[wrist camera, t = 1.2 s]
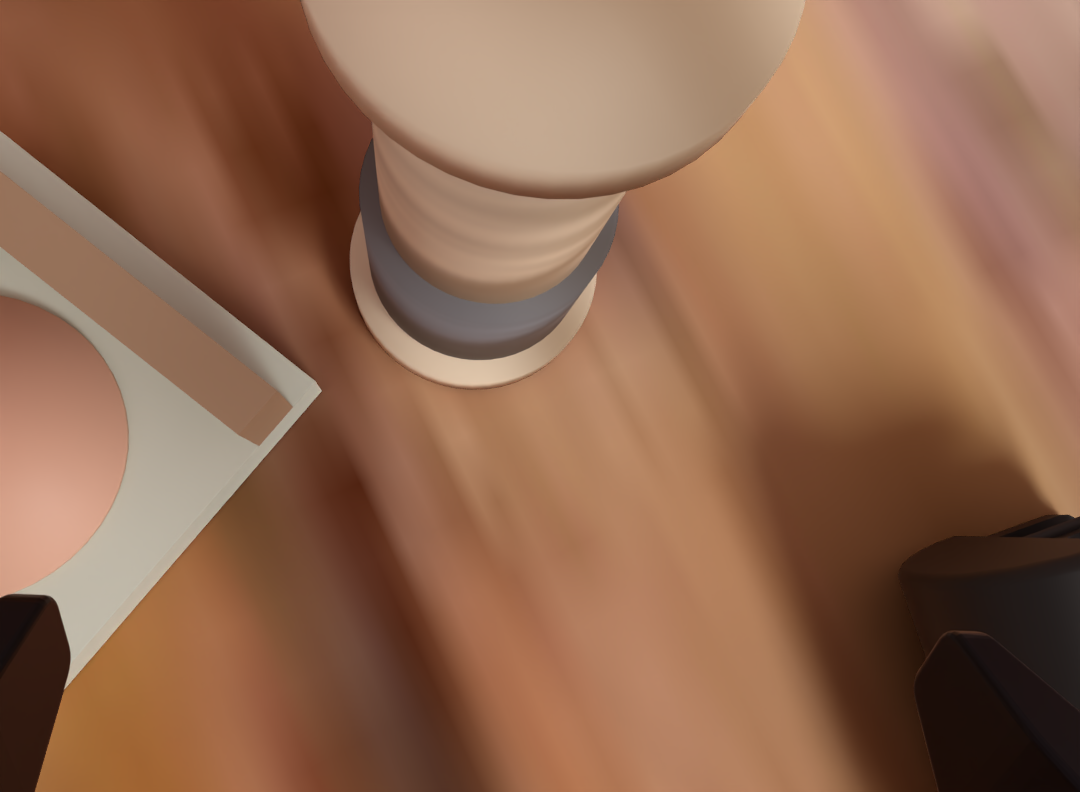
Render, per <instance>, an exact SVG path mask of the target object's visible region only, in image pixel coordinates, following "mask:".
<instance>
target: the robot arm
mask: <svg viewBox="0 0 1080 792" xmlns="http://www.w3.org/2000/svg"><path fill="white" fill-rule="evenodd" d="M70 662H71V652H70V646H69V643H68V639H67V636H66V632H65V629H64V625H63V621H62V618H61V614H60V611H59V607H58V605H57V602H56V601H55V600H54V599H53V598H52V597H51V596H48V595H37V594H8V595H5V596H3V597H1V598H0V792H35V789H36V785H37V782H38V779H39V775H40V772H41V768H42V765H43V761H44V758H45V754H46V751H47V747H48V744H49V740H50V737H51V733H52V730H53V726H54V723H55V720H56V716H57V713H58V709H59V706H60V702H61V699H62V695H63V692H64V688H65V685H66V681H67V678H68V674H69V669H70ZM914 698H915V703H916V707H917V711H918V715H919V719H920V723H921V727H922V731H923V735H924V739H925V743H926V746H927V750H928V754H929V758H930V762H931V766H932V770H933V774H934V778H935V782H936V786H937V790H938V792H1080V711H1079V710H1078V709H1077V708H1076V707H1074V706H1073V705H1072V704H1071V703H1070V702H1068V701H1067V700H1066V699H1065V698H1064V697H1062V696H1061V695H1060V694H1059V693H1058V692H1057V691H1055V690H1054V689H1053V688H1052V687H1051V686H1049V685H1048V684H1047V683H1046V682H1045V681H1044V680H1042V679H1041V678H1040V677H1039V676H1038V675H1036V674H1035V673H1034V672H1033V671H1032V670H1030V669H1029V668H1028V667H1027V666H1026V665H1025V664H1023V663H1022V662H1021V661H1020V660H1019V659H1017V658H1016V657H1015V656H1014V655H1013V654H1011V653H1010V652H1009V651H1008V650H1007V649H1006V648H1004V647H1003V646H1002V645H1001V644H1000V643H998V642H997V641H996V640H995V639H994V638H992V637H991V636H989V635H987V634H985V633H982V632H977V631H955V630H953V631H948V632H946V633H944V634H943V635H942V636H941V637H940V638H939V640H938V641H937V643H936V644H935V646H934V647H933V649H932V651H931V652H930V654H929V655H928V657H927V658H926V660H925V661H924V663H923V664H922V666H921V668H920V669H919V671H918V672H917V674H916V677H915V680H914Z"/></svg>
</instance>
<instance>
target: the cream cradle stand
mask: <svg viewBox="0 0 1080 792" xmlns="http://www.w3.org/2000/svg"><path fill="white" fill-rule="evenodd" d="M321 391H322V390H321V389H320V387H319V386H318V384H317V383H316V381H314V380H313V379H312V378H311V377H309V376H308V375H307V374H306V373H304V372H303V371H302V370H301V369H299V368H298V367H297V366H296V365H294V364H293V363H292V362H290V361H289V360H288V359H287V358H285V357H284V356H283V355H282V354H280V353H279V352H278V351H277V350H275V349H274V348H273V347H272V346H270V345H269V344H268V343H267V342H265V341H264V340H263V339H262V338H260V337H259V336H258V335H256V334H255V333H254V332H253V331H251V330H250V329H249V328H248V327H246V326H245V325H244V324H243V323H241V322H240V321H239V320H238V319H236V318H235V317H234V316H233V315H231V314H230V313H229V312H228V311H226V310H225V309H224V308H223V307H221V306H220V305H219V304H217V303H216V302H215V301H214V300H212V299H211V298H210V297H209V296H207V295H206V294H205V293H204V292H202V291H201V290H200V289H199V288H197V287H196V286H195V285H194V284H192V283H191V282H190V281H189V280H187V279H186V278H185V277H183V276H182V275H181V274H180V273H178V272H177V271H176V270H175V269H173V268H172V267H171V266H170V265H168V264H167V263H166V262H165V261H163V260H162V259H161V258H160V257H158V256H157V255H156V254H155V253H153V252H152V251H151V250H149V249H148V248H147V247H146V246H144V245H143V244H142V243H141V242H139V241H138V240H137V239H136V238H134V237H133V236H132V235H131V234H129V233H128V232H127V231H126V230H124V229H123V228H122V227H121V226H119V225H118V224H117V223H116V222H114V221H113V220H112V219H110V218H109V217H108V216H107V215H105V214H104V213H103V212H102V211H100V210H99V209H98V208H97V207H95V206H94V205H93V204H92V203H90V202H89V201H88V200H87V199H85V198H84V197H83V196H82V195H80V194H79V193H78V192H76V191H75V190H74V189H73V188H71V187H70V186H69V185H68V184H66V183H65V182H64V181H63V180H61V179H60V178H59V177H58V176H56V175H55V174H54V173H53V172H51V171H50V170H49V169H48V168H46V167H45V166H44V165H43V164H41V163H40V162H39V161H37V160H36V159H35V158H34V157H32V156H31V155H30V154H29V153H27V152H26V151H25V150H24V149H22V148H21V147H20V146H19V145H17V144H16V143H15V142H14V141H12V140H11V139H10V138H9V137H7V136H6V135H5V134H3V133H2V132H1V131H0V598H1V597H3V596H5V595H8V594H37V595H48V596H51V597H52V598H53V599H54V600H55V601H56V602H57V605H58V607H59V611H60V614H61V618H62V621H63V625H64V629H65V632H66V636H67V639H68V643H69V646H70V652H71V662H70V669H69V674H68V678H67V681H66V685H65V688H66V687H67V686H68V685H69V684H70V682H71V681H72V680H73V679H74V678H75V677H76V675H77V674H78V673H79V672H80V671H81V670H82V668H83V667H84V666H85V665H86V664H87V663H88V662H89V660H90V659H91V658H92V657H93V656H94V655H95V653H96V652H97V651H98V650H99V649H100V648H101V646H102V645H103V644H104V643H105V642H106V641H107V639H108V638H109V637H110V636H111V635H112V634H113V633H114V631H115V630H116V629H117V628H118V627H119V626H120V624H121V623H122V622H123V621H124V620H125V619H126V617H127V616H128V615H129V614H130V613H131V612H132V611H133V609H134V608H135V607H136V606H137V605H138V604H139V602H140V601H141V600H142V599H143V598H144V597H145V595H146V594H147V593H148V592H149V591H150V590H151V588H152V587H153V586H154V585H155V584H156V583H157V582H158V580H159V579H160V578H161V577H162V576H163V575H164V573H165V572H166V571H167V570H168V569H169V568H170V566H171V565H172V564H173V563H174V562H175V561H176V560H177V558H178V557H179V556H180V555H181V554H182V553H183V551H184V550H185V549H186V548H187V547H188V546H189V544H190V543H191V542H192V541H193V540H194V539H195V537H196V536H197V535H198V534H199V533H200V532H201V531H202V529H203V528H204V527H205V526H206V525H207V524H208V522H209V521H210V520H211V519H212V518H213V517H214V515H215V514H216V513H217V512H218V511H219V510H220V508H221V507H222V506H223V505H224V504H225V503H226V502H227V500H228V499H229V498H230V497H231V496H232V495H233V493H234V492H235V491H236V490H237V489H238V488H239V486H240V485H241V484H242V483H243V482H244V481H245V480H246V478H247V477H248V476H249V475H250V474H251V473H252V471H253V470H254V469H255V468H256V467H257V466H258V464H259V463H260V462H261V461H262V460H263V459H264V457H265V456H266V455H267V454H268V453H269V452H270V451H271V449H272V448H273V447H274V446H275V445H276V444H277V442H278V441H279V440H280V439H281V438H282V437H283V435H284V434H285V433H286V432H287V431H288V430H289V428H290V427H291V426H292V425H293V424H294V423H295V422H296V420H297V419H298V418H299V417H300V416H301V415H302V413H303V412H304V411H305V410H306V409H307V408H308V406H309V405H310V404H311V403H312V402H313V401H314V400H315V398H316V397H317V396H318V395H319V394H320V393H321ZM65 688H64V689H65Z"/></svg>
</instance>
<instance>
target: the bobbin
mask: <svg viewBox="0 0 1080 792" xmlns="http://www.w3.org/2000/svg"><path fill="white" fill-rule="evenodd" d="M300 1H301V4H302V8H303V11H304V14H305V17H306V20H307V23H308V27H309V30H310V32H311V34H312V37H313V39H314V41H315V43H316V45H317V47H318V49H319V51H320V53H321V55H322V58H323V60H324V62H325V63H326V65H327V66H328V68H329V69H330V71H331V72H332V74H333V75H334V77H335V78H336V80H337V82H338V83H339V85H340V86H341V88H342V89H343V90H344V91H345V93H346V94H347V95H348V96H349V97H350V99H351V100H352V101H353V102H354V103H355V104H356V106H357V107H358V108H359V109H360V110H361V111H362V113H363V114H364V115H365V116H366V117H367V118H368V119H370V120H371V121H372V131H373V138H372V140H371V142H370V145H369V147H368V150H367V152H366V154H365V158H364V162H363V165H362V169H361V176H360V185H359V200H360V210H361V211H360V214H359V216H358V219H357V221H356V224H355V227H354V231H353V235H352V239H351V248H350V273H351V279H352V285H353V290H354V294H355V298H356V301H357V304H358V307H359V311H360V313H361V315H362V318H363V320H364V322H365V324H366V326H367V328H368V329H369V331H370V332H371V334H372V336H373V337H374V339H375V340H376V341H377V342H378V344H379V345H380V346H381V347H382V348H383V350H384V351H385V352H386V353H387V354H388V355H389V356H391V357H392V358H393V359H394V360H395V361H396V362H397V363H399V364H400V365H401V366H403V367H404V368H406V369H407V370H409V371H410V372H412V373H414V374H416V375H418V376H420V377H422V378H423V379H426V380H429V381H431V382H434V383H437V384H439V385H444V386H448V387H453V388H460V389H470V390H473V389H490V388H496V387H502V386H505V385H509V384H512V383H515V382H518V381H520V380H522V379H524V378H527V377H529V376H531V375H533V374H534V373H536V372H537V371H539V370H541V369H542V368H544V367H545V366H546V365H547V364H549V363H550V362H551V361H552V360H553V359H555V358H556V357H557V356H558V354H559V353H560V352H561V351H562V350H563V349H564V348H565V347H566V346H567V344H568V343H569V342H570V341H571V340H572V339H573V337H574V336H575V334H576V333H577V331H578V330H579V328H580V327H581V325H582V323H583V321H584V319H585V317H586V315H587V313H588V311H589V308H590V305H591V302H592V299H593V295H594V290H595V285H596V275H597V271H598V270H599V269H600V267H601V266H602V264H603V262H604V260H605V258H606V256H607V254H608V252H609V250H610V248H611V245H612V242H613V239H614V236H615V231H616V226H617V221H618V208H619V202H620V201H621V199H622V198H623V196H624V195H625V193H626V191H628V190H632V189H636V188H640V187H643V186H645V185H648V184H650V183H652V182H655V181H657V180H660V179H662V178H664V177H667V176H669V175H671V174H673V173H675V172H676V171H678V170H680V169H681V168H683V167H685V166H686V165H688V164H690V163H691V162H693V161H695V160H696V159H698V158H699V157H700V156H701V155H703V154H704V153H705V152H706V151H707V150H709V149H710V148H711V147H712V146H714V145H715V144H716V143H717V142H719V141H720V140H721V139H722V137H723V136H724V135H725V134H726V133H727V132H728V131H729V130H730V129H731V128H732V127H733V126H734V125H735V123H736V122H737V121H738V120H739V119H740V118H741V117H742V115H743V114H744V113H745V112H746V110H747V109H748V108H749V107H750V105H751V104H752V103H753V102H754V100H755V99H756V98H757V97H758V95H759V94H760V93H761V92H762V90H763V89H764V88H765V87H766V85H767V84H768V82H769V81H770V79H771V78H772V76H773V75H774V73H775V72H776V71H777V69H778V68H779V66H780V65H781V63H782V62H783V60H784V58H785V55H786V53H787V51H788V49H789V47H790V45H791V43H792V41H793V39H794V37H795V35H796V32H797V28H798V25H799V22H800V19H801V16H802V13H803V9H804V6H805V0H300Z"/></svg>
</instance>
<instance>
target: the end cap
mask: <svg viewBox="0 0 1080 792" xmlns="http://www.w3.org/2000/svg"><path fill="white" fill-rule="evenodd" d="M898 579H899V582H900V585H901V588H902V591H903V593H904V596H905V599H906V602H907V605H908V608H909V611H910V614H911V616H912V619H913V622H914V625H915V628H916V631H917V634H918V637H919V640H920V642H921V645H922V648H923V651H924V654H925V657H926V658H927V657H928V655H929V654H930V652H931V651H932V649H933V647H934V646H935V644H936V643H937V641H938V640H939V638H940V637H941V636H942V635H943V634H944V633H946V632H948V631H953V630H955V631H977V632H982V633H985V634H987V635H989V636H991V637H992V638H994V639H995V640H996V641H997V642H998V643H1000V644H1001V645H1002V646H1003V647H1004V648H1006V649H1007V650H1008V651H1009V652H1010V653H1011V654H1013V655H1014V656H1015V657H1016V658H1017V659H1019V660H1020V661H1021V662H1022V663H1023V664H1025V665H1026V666H1027V667H1028V668H1029V669H1030V670H1032V671H1033V672H1034V673H1035V674H1036V675H1038V676H1039V677H1040V678H1041V679H1042V680H1044V681H1045V682H1046V683H1047V684H1048V685H1049V686H1051V687H1052V688H1053V689H1054V690H1055V691H1057V692H1058V693H1059V694H1060V695H1061V696H1062V697H1064V698H1065V699H1066V700H1067V701H1068V702H1070V703H1071V704H1072V705H1073V706H1074V707H1076V708H1077V709H1078V710H1079V711H1080V517H1077V518H1074V517H1072V516H1070V515H1046V516H1043V517H1040V518H1037V519H1035V520H1032V521H1029V522H1026V523H1023V524H1021V525H1018V526H1015V527H1012V528H1009V529H1007V530H1004V531H1001V532H998V533H995V534H993V535H990V536H987V537H975V536H954V537H951V538H948V539H946V540H943V541H940V542H938V543H935V544H933V545H931V546H929V547H927V548H925V549H923V550H921V551H919V552H917V553H916V554H914V555H912V556H911V557H910V558H909V559H908V560H906V561H905V562H904V563H903V564H902V566H901V568H900V570H899V572H898Z"/></svg>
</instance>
